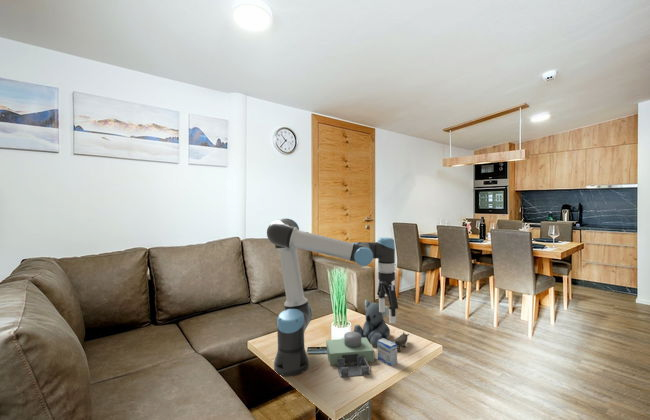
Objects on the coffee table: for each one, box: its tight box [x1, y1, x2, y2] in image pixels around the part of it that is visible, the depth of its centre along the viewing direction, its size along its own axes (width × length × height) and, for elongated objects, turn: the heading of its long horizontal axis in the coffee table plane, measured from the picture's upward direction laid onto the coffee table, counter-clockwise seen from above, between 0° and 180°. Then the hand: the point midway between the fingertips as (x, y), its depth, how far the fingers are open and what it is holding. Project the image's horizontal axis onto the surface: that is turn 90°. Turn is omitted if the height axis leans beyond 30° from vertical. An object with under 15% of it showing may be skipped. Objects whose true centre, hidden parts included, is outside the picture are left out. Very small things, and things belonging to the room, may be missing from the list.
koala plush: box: [353, 299, 391, 348], centre depth 156 cm, size 17×18×20 cm
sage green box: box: [325, 331, 375, 366], centre depth 138 cm, size 20×13×9 cm, turn 97°
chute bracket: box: [336, 356, 370, 378], centre depth 126 cm, size 12×9×4 cm
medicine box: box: [376, 338, 398, 366], centre depth 133 cm, size 8×4×9 cm, turn 40°
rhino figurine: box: [394, 331, 410, 353], centre depth 147 cm, size 4×14×6 cm, turn 143°
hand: (387, 317), depth 137 cm, fingers open, 13 cm apart
